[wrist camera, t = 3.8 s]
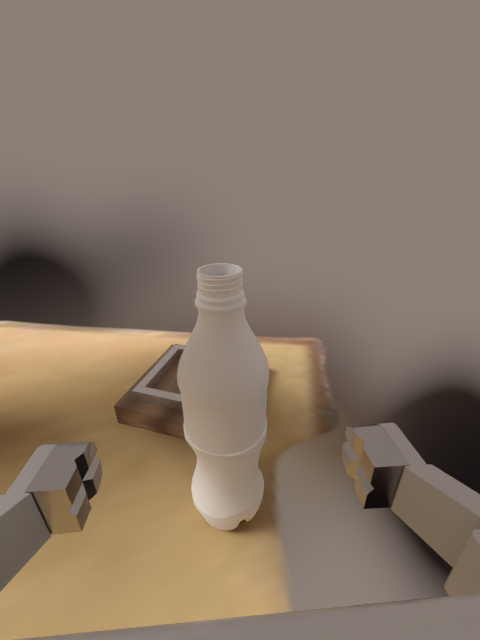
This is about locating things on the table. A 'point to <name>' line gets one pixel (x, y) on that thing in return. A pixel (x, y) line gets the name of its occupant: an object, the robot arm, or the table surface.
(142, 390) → the display stand
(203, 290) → the water bottle
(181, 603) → the table surface
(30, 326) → the table surface
